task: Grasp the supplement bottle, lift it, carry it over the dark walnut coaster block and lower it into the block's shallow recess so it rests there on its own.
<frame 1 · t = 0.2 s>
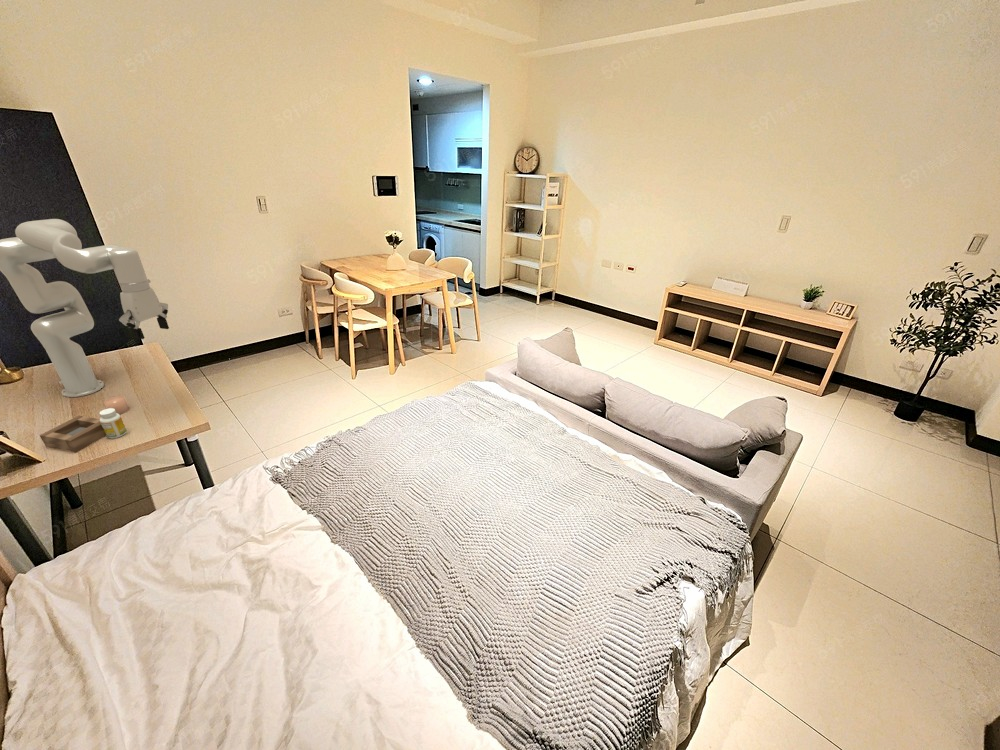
hand: (152, 333, 146), 31 cm above the table, fingers open, 9 cm apart
supplement bottle: (117, 434, 144), on the table
peach rounded lump: (119, 410, 156), on the table
base block: (80, 439, 141), on the table
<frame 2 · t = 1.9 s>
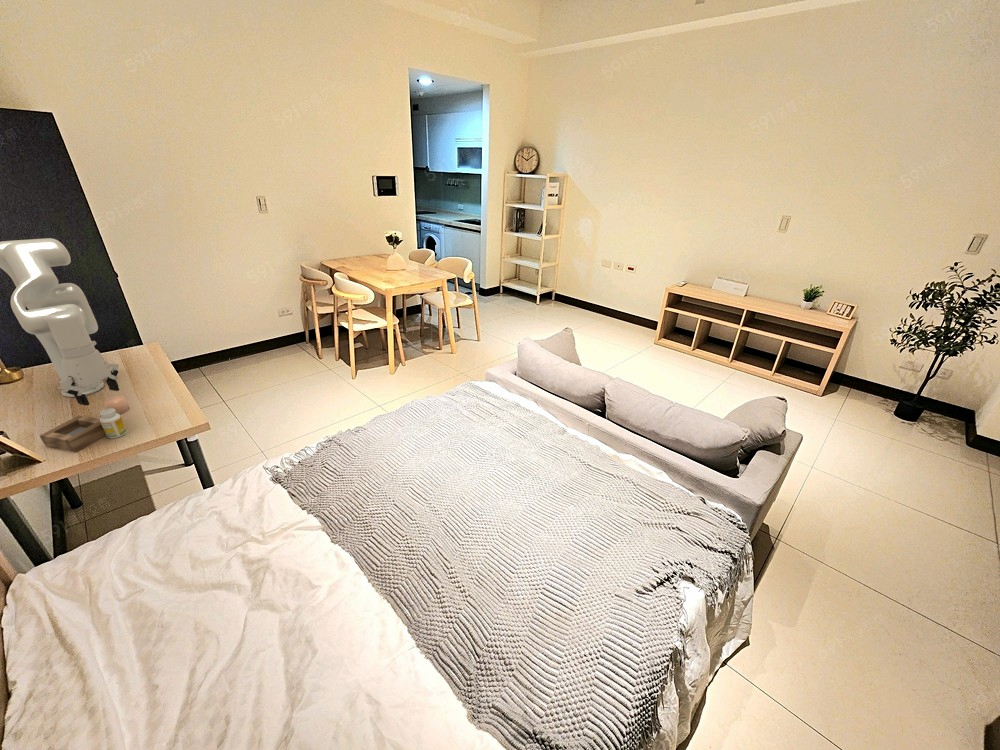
hand: (100, 397, 136), 15 cm above the table, fingers open, 9 cm apart
nothing on the table moved.
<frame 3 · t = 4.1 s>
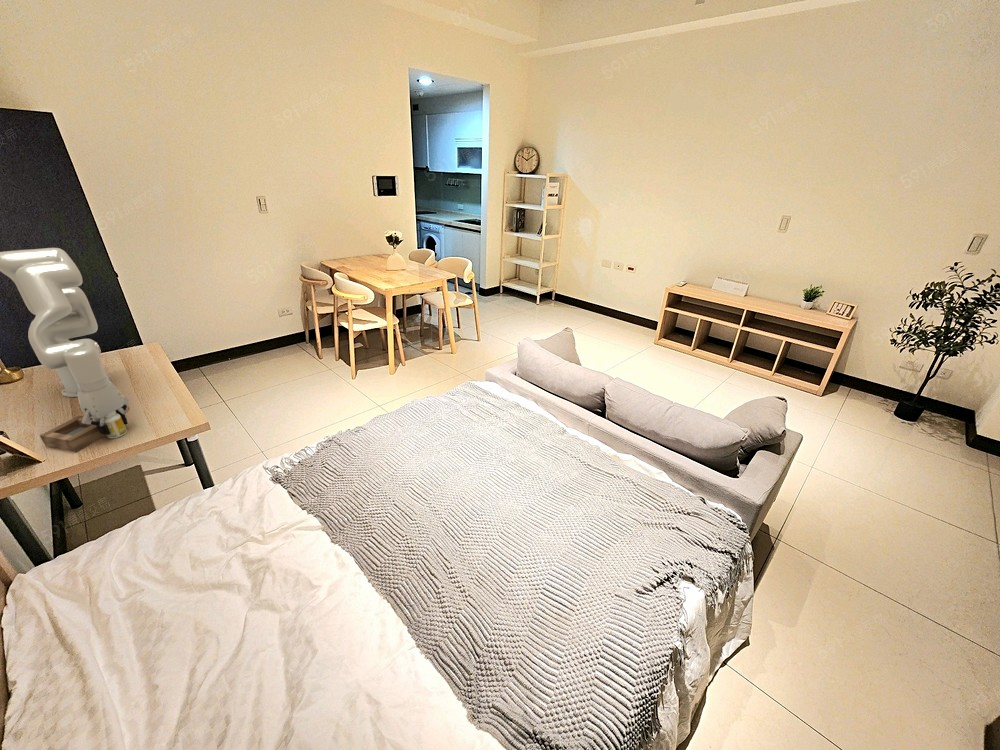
hand: (114, 428, 143), 2 cm above the table, fingers closed on supplement bottle, 5 cm apart
supplement bottle: (117, 434, 144), on the table, touching gripper
everything else where it was.
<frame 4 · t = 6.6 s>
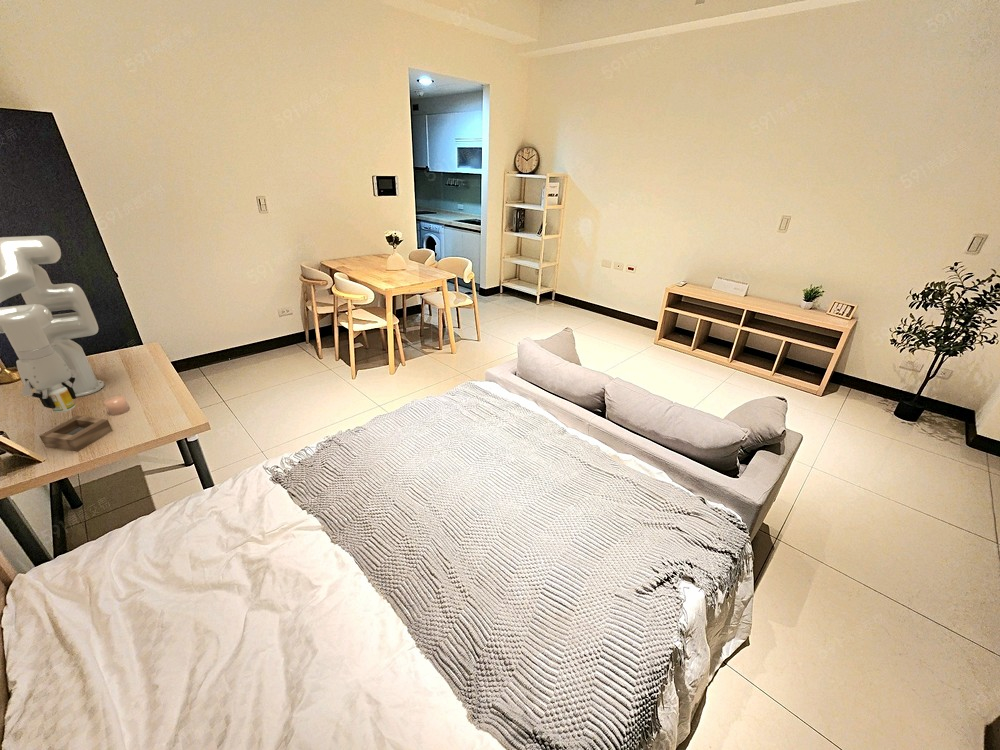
hand: (61, 402, 134), 15 cm above the table, fingers closed on supplement bottle, 5 cm apart
supplement bottle: (65, 409, 135), point 12 cm above the table, touching gripper
everything else where it was.
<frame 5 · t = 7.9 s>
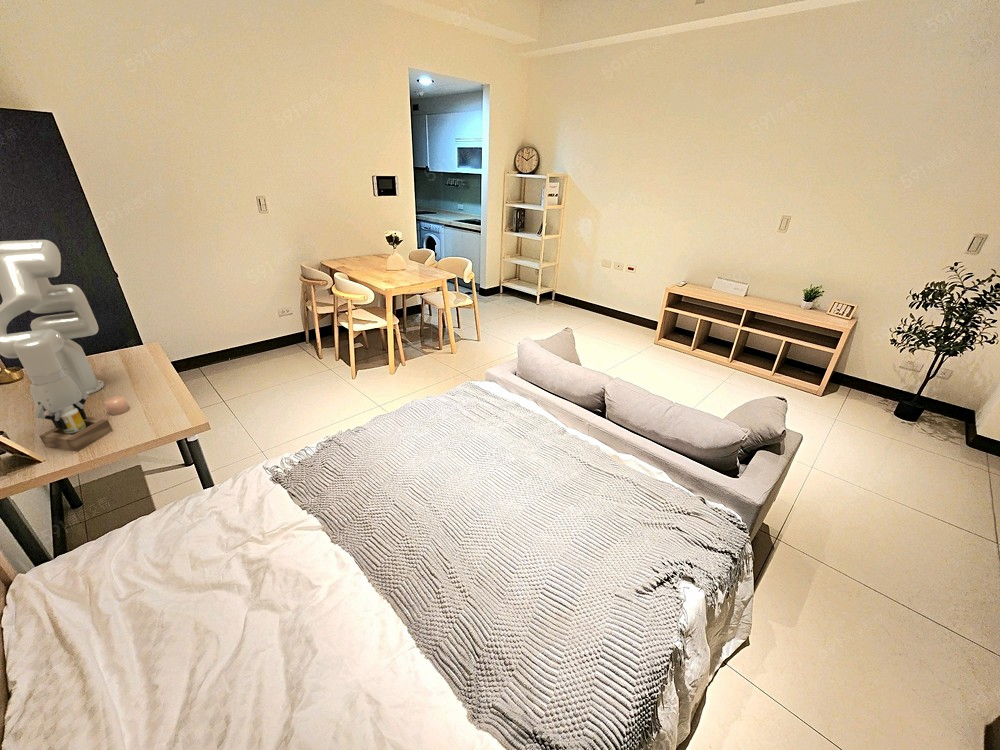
hand: (72, 423, 138), 6 cm above the table, fingers closed on supplement bottle, 5 cm apart
supplement bottle: (76, 429, 139), point 4 cm above the table, touching gripper
everything else where it was.
when the fingers open (6 cm above the table, at t = 9.3 s): supplement bottle drops 1 cm, resting on base block.
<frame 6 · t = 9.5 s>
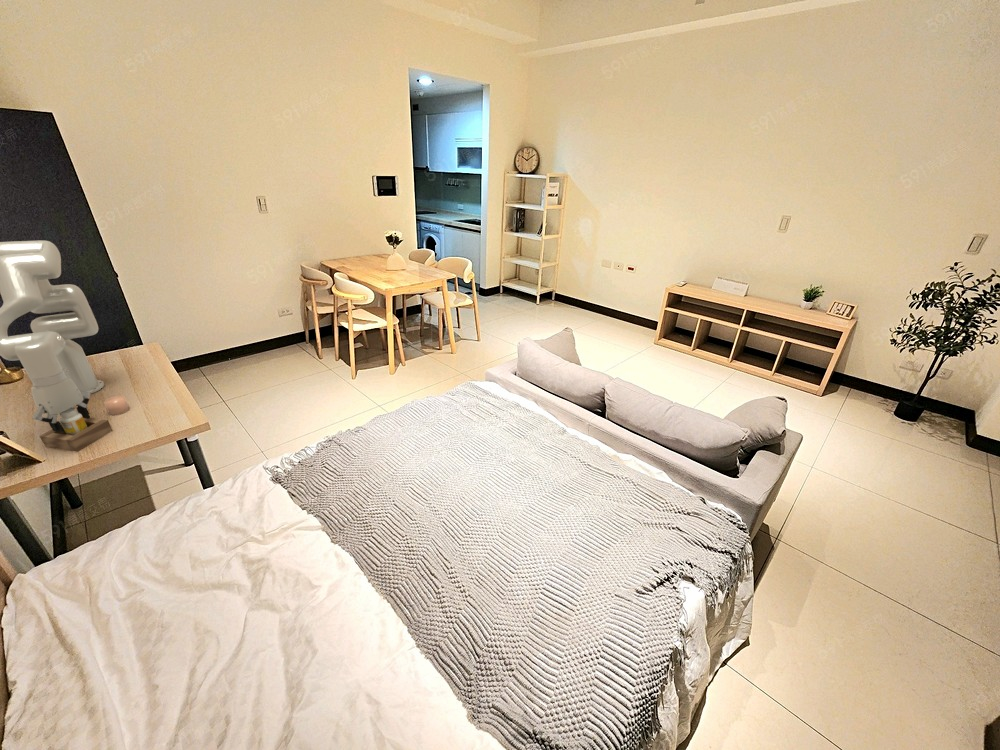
hand: (72, 424, 138), 6 cm above the table, fingers open, 7 cm apart
supplement bottle: (79, 434, 140), point 1 cm above the table, touching base block
base block: (80, 439, 141), on the table, touching supplement bottle
everything else where it was.
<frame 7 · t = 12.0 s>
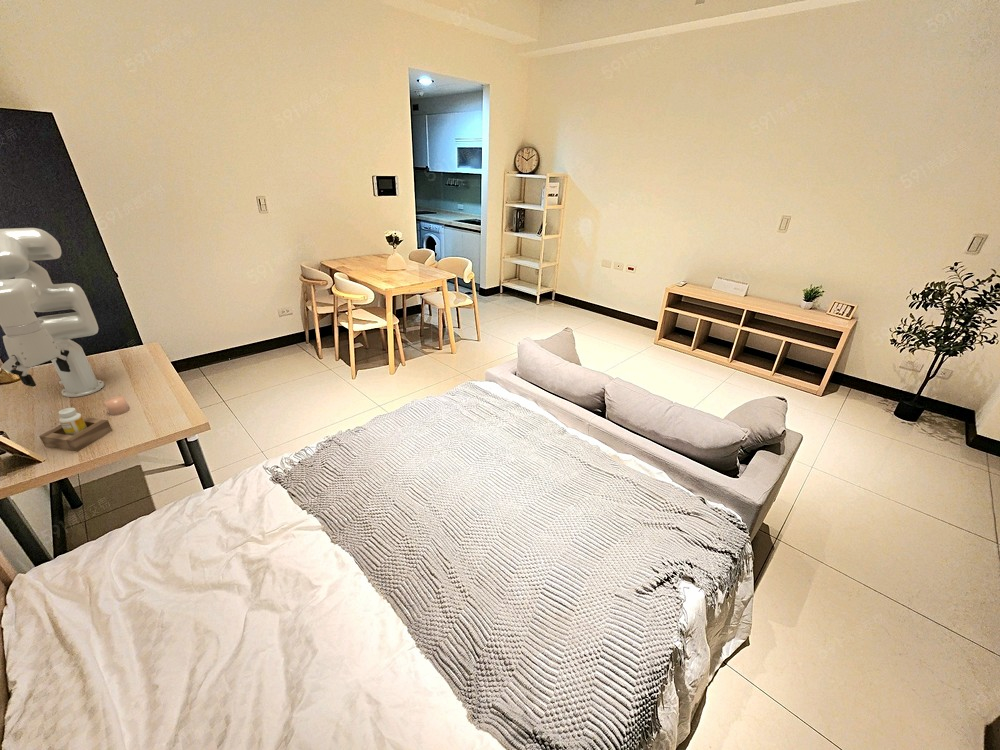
hand: (49, 378, 130), 24 cm above the table, fingers open, 9 cm apart
nothing on the table moved.
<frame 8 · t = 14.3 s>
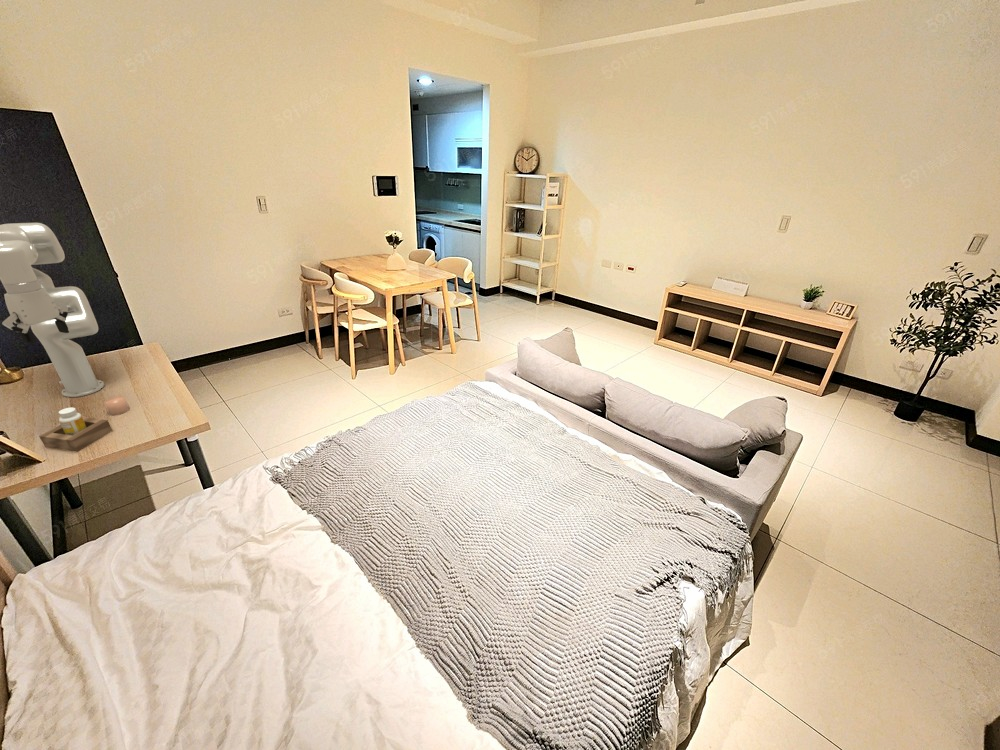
hand: (48, 337, 135), 32 cm above the table, fingers open, 9 cm apart
nothing on the table moved.
at the end: supplement bottle touching base block; supplement bottle tilted 1° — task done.
